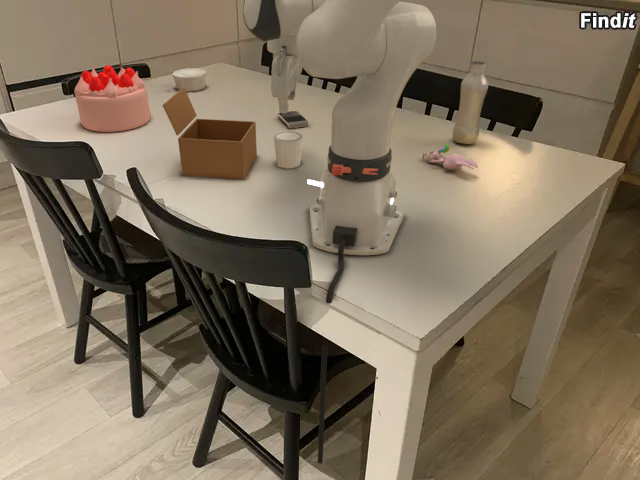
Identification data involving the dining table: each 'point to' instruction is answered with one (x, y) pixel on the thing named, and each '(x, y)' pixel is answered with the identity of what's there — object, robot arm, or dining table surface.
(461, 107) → the plastic bottle
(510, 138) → the dining table surface
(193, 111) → the flap
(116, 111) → the cake
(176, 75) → the ramekin
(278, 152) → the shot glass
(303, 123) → the cell phone
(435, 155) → the pink elongated figure
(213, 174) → the carton
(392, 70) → the robot arm
